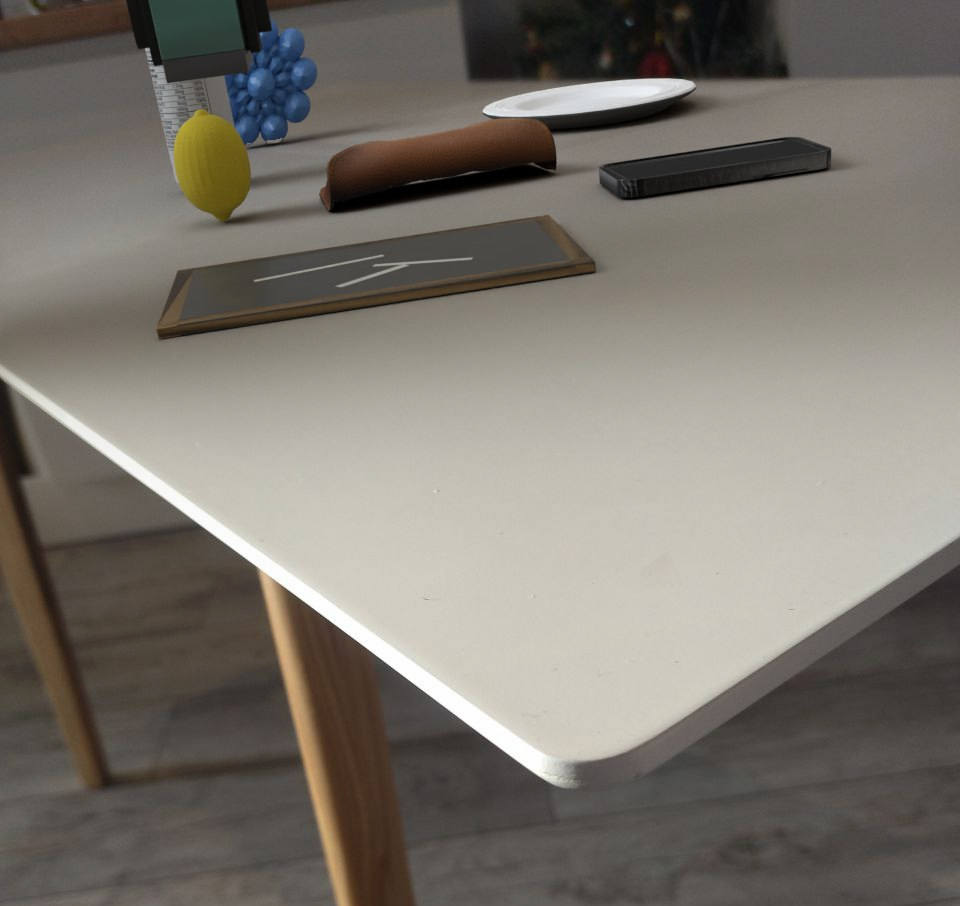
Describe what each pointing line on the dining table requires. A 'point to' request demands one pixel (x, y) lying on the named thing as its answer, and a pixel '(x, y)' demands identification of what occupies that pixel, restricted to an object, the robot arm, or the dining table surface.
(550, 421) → the dining table surface
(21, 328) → the dining table surface
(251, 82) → the grapes
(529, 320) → the dining table surface
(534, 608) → the dining table surface
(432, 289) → the slate board
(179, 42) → the eraser
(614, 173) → the phone
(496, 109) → the plate
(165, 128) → the energy drink can
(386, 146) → the sunglasses case
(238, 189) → the lemon
